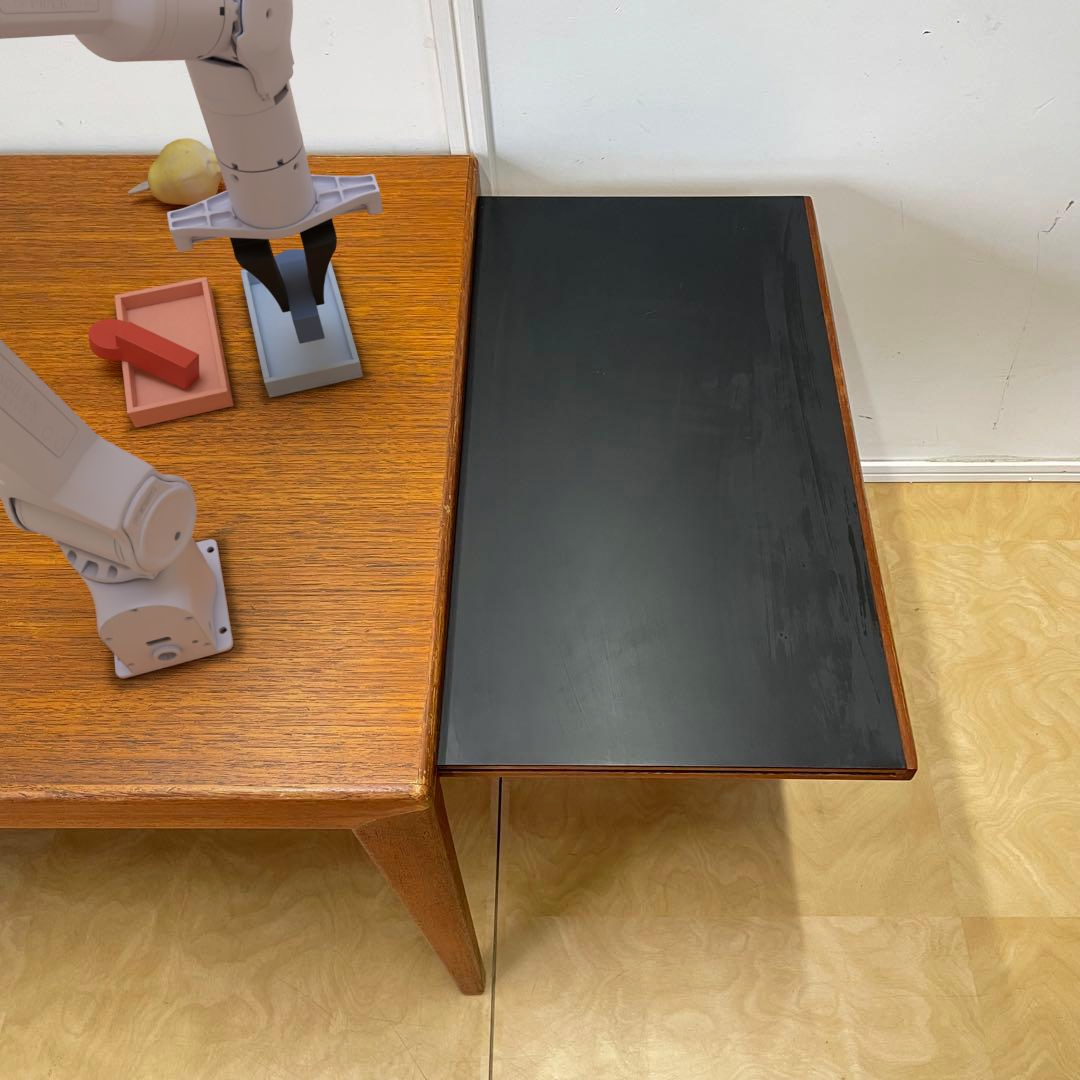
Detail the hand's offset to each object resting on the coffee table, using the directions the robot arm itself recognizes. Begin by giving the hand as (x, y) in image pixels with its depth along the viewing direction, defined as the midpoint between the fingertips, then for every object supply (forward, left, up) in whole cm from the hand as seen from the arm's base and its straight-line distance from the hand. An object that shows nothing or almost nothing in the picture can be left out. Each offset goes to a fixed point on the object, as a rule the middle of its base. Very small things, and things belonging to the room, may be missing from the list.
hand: (301, 299), depth 72 cm
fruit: (+26, +9, -9) cm, 29 cm away
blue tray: (+5, +1, -8) cm, 10 cm away
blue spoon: (+1, 0, -1) cm, 2 cm away
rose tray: (+5, +12, -8) cm, 15 cm away
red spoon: (+4, +14, -7) cm, 16 cm away
